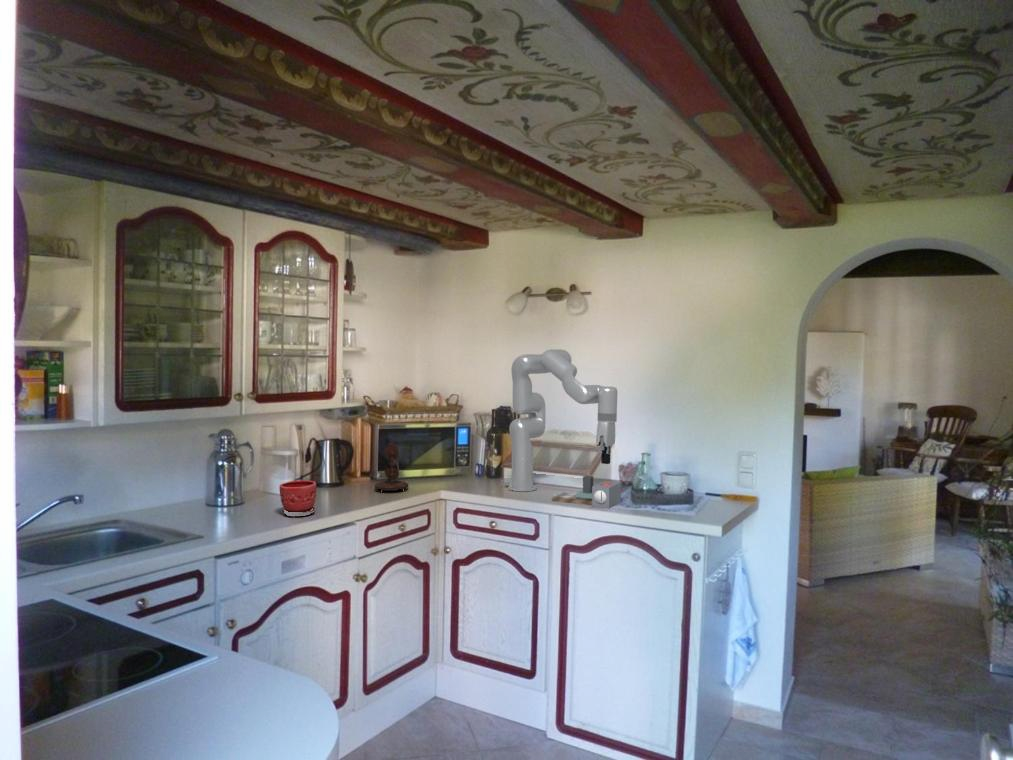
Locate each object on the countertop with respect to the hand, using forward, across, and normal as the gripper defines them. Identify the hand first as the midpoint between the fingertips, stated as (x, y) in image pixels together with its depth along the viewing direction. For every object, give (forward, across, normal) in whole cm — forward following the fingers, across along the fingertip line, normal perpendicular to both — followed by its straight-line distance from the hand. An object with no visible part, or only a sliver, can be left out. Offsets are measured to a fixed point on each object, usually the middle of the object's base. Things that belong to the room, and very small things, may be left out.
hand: (605, 463), depth 287 cm
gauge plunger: (+13, 0, +1) cm, 13 cm away
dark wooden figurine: (+19, +18, -92) cm, 96 cm away
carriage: (+14, 0, -7) cm, 16 cm away
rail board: (+17, 0, -12) cm, 20 cm away
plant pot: (+19, +73, -93) cm, 120 cm away
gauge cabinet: (+16, 0, +1) cm, 16 cm away
